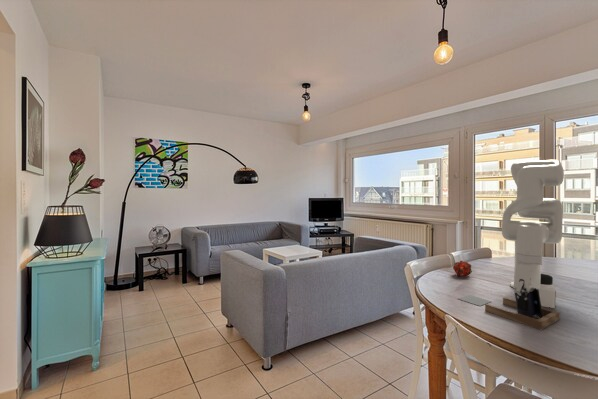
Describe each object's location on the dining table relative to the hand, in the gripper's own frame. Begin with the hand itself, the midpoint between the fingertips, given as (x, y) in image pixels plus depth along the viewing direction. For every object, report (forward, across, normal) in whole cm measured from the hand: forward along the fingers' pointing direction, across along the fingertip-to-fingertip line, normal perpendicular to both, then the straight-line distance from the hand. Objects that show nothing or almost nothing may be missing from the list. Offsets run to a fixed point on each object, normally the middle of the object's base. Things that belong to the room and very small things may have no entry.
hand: (527, 307), depth 107 cm
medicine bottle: (+4, -20, -3) cm, 20 cm away
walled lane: (+3, 0, -3) cm, 4 cm away
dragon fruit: (+4, -31, -42) cm, 52 cm away
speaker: (+3, 0, 0) cm, 3 cm away
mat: (+4, 0, -19) cm, 19 cm away
